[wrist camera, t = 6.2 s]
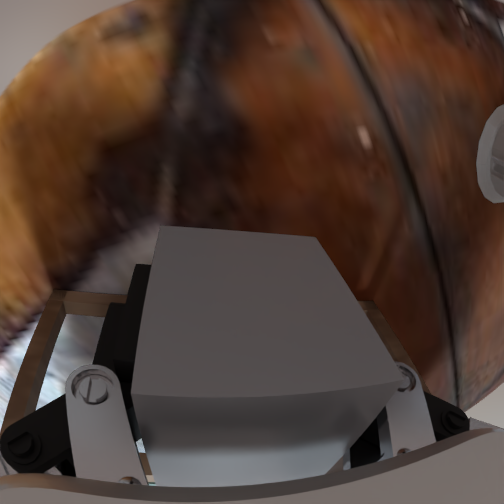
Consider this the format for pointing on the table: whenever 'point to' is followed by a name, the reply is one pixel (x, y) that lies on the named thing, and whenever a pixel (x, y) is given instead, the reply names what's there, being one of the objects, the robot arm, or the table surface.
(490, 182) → the french press
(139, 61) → the table surface
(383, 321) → the stand
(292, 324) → the smooth gray block
